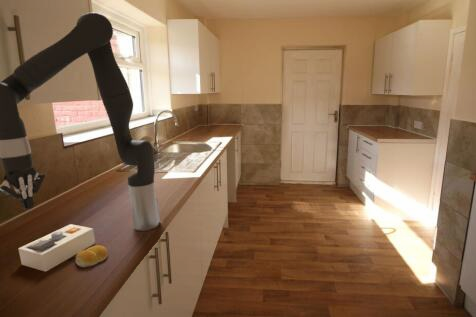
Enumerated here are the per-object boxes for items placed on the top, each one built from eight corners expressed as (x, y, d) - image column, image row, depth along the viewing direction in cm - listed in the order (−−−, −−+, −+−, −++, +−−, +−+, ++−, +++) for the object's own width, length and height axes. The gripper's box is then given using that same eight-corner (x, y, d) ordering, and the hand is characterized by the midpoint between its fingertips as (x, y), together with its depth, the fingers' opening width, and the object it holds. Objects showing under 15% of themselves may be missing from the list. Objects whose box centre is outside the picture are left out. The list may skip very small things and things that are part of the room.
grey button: (59, 237, 102) (58, 230, 101) (66, 238, 101) (64, 232, 100) (50, 241, 99) (48, 235, 98) (57, 243, 98) (55, 236, 97)
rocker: (41, 244, 98) (39, 240, 98) (54, 243, 95) (53, 239, 95) (28, 250, 94) (27, 246, 94) (42, 249, 91) (40, 245, 91)
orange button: (74, 233, 107) (73, 227, 106) (81, 235, 106) (80, 228, 105) (66, 237, 104) (65, 231, 104) (72, 239, 103) (71, 232, 102)
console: (73, 238, 111) (70, 224, 110) (95, 243, 107) (92, 228, 105) (21, 264, 95) (18, 248, 94) (45, 271, 91) (42, 254, 89)
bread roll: (113, 256, 98) (111, 245, 97) (85, 270, 91) (83, 258, 90) (98, 249, 102) (96, 238, 101) (71, 262, 95) (69, 250, 94)
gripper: (30, 148, 97) (41, 199, 101) (-18, 158, 85) (-3, 216, 89) (46, 149, 94) (56, 202, 98) (-2, 159, 82) (12, 219, 86)
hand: (28, 208), depth 94 cm, fingers closed
